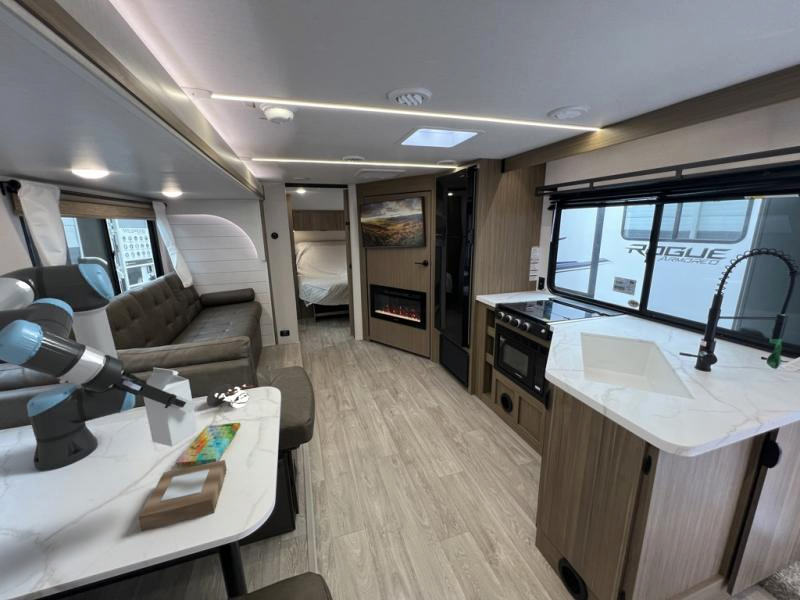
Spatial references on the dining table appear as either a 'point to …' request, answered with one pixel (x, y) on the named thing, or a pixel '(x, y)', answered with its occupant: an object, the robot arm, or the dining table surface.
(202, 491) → the walnut riser
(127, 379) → the robot arm
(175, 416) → the milk carton
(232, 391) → the figurine
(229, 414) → the dining table surface
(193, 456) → the puzzle game
